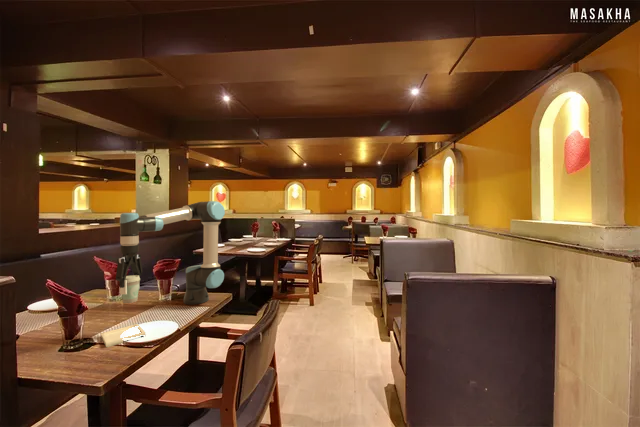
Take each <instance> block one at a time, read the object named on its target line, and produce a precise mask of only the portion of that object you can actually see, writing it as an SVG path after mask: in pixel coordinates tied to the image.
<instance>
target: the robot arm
mask: <svg viewBox="0 0 640 427" xmlns="http://www.w3.org/2000/svg"><path fill="white" fill-rule="evenodd" d="M225 213H226V210H225V207H224V206H223V205H222V203H221V202H219V201H217V200H216V201H214V200H211V201H209V200H208V201H207V200H206V201H198V202H194V203H190V204H187V205H183V206H182V207H180V208H175V209H168V210H164V211H160V212H154V213H148V214H144V215H139V213H138V212H123V213H120V217H119V238H120V239H119V241H120V242H119V243H120V245H121V246H119V249H120V250H119V251H120V254H122V257H121V258H120V257H119V258H117V259H116V260H117V264H116V265H117V266H116V274H115V280H116V281H119V294H120V295H122V294H127V280H125V279H126V276H128V273H129V272H128V271H129V268H130V266H131V270H132V272H133V275H139V277H140V276H142V275H143V264H142V254H137V253H139V251H140V246H139V244H140V237H139V236H140V235H139V234H140V233H143V232H146V233H148V232H157V231H162V230H163V229H164V225H168V224H172V223H176V222H181V221H184V220H186V221H192V220H200V221H201V224H202V225H203V248H202V249H203V250H202V251H203V253H202V254H203V255H202V256H203V258H202V259H203V260H202V262H203V263H202V264H199V265H198V264H197V265H191V266H188V267H186V268H185V284H186V285H185V287H186V290H185V293H184V297H183V304H184V305H190V306H191V305H198V304H203V303H206V302H208V301H209V300H210V296H209V292H208V291H207V290H208V289H216V288H218V287H220V286H221V285H222V283H223V282H224V279H225V273H224V270H222V269H221V264H220V263H219V262H218V261H219V226H220V224H221V223H222V221H221V220H222V219H223V218H224V217H225ZM207 288H208V289H207Z"/></svg>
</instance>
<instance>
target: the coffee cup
mask: <svg viewBox="0 0 640 427" xmlns="http://www.w3.org/2000/svg"><path fill="white" fill-rule="evenodd" d="M125 280H127V294H121V299H122V303H123V304H132V303H136V302H137V301H138V300H139V299H138V297H139V290H140V281H141V278H140V276H139V275H134V274H131V275H126V279H125Z"/></svg>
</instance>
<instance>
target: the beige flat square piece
mask: <svg viewBox="0 0 640 427" xmlns="http://www.w3.org/2000/svg"><path fill="white" fill-rule="evenodd" d="M135 326H139V327H138V329H139V330H140V332H141V333H139V334H135V335H132V336H128V337H124V338H131V337H136V336H140V335H145V336H146V331H145V330H144V329H143V328H142V327H141V326H140V324H138V323H136V324H135V323H134V324H132V325H128V326H124V327H120V328H117V329H112V330H108V331H105V332H101V333H100V338H101V339H102V342H103V344H104V345H105V348H109V347H112V346H116V345H119V344H123V340H122V339H123V338H120V335H121V334H122V333H123V332H124V331H126V330H128V329H129V328H132V327H135Z"/></svg>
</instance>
